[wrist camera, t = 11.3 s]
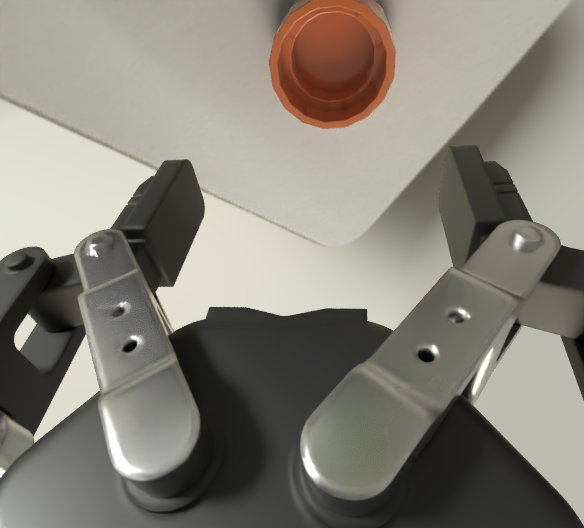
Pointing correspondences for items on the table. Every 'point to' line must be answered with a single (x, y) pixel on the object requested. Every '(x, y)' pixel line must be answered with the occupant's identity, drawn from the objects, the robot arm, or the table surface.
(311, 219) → the table surface
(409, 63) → the table surface
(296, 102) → the dish
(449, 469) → the robot arm
